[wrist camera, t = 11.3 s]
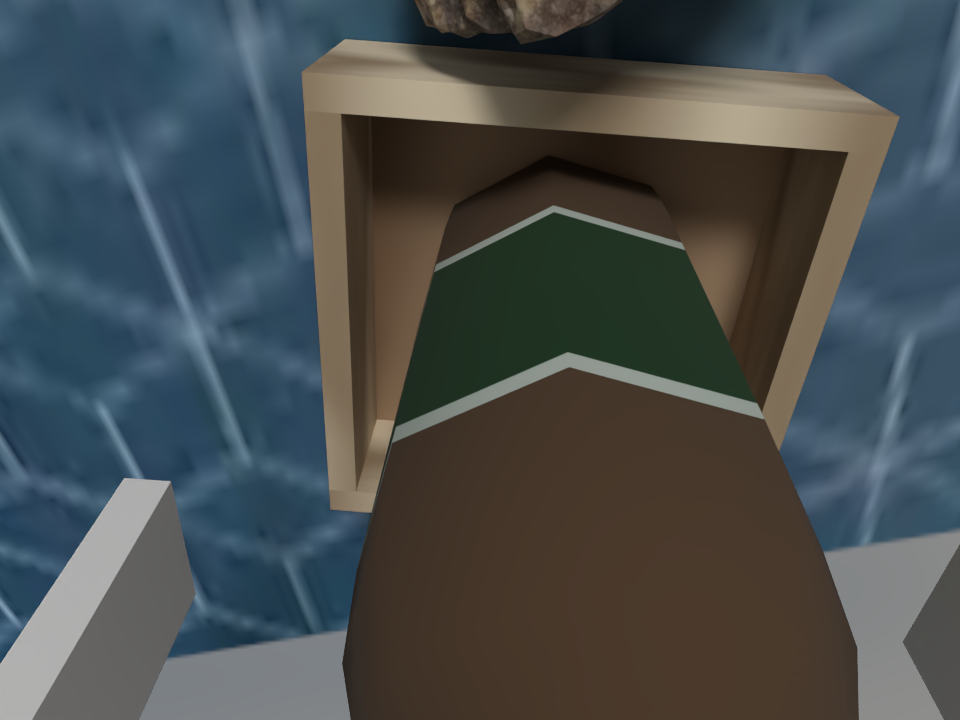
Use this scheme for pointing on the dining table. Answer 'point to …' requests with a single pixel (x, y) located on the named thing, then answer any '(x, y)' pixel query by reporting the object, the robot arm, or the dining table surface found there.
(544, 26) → the rock
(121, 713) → the robot arm
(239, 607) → the dining table surface
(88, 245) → the dining table surface
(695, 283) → the beer bottle
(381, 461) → the caddy
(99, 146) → the dining table surface
